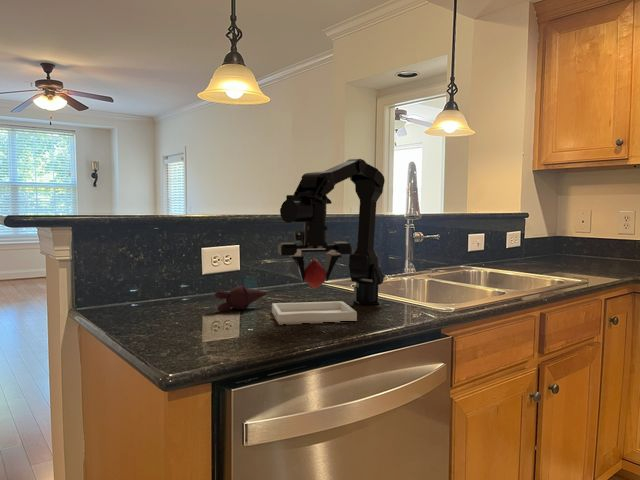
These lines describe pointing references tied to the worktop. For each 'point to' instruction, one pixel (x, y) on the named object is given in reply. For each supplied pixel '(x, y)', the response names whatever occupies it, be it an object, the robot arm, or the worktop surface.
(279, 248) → the robot arm
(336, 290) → the worktop surface
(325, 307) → the tray
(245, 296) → the dark red toy figure
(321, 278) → the onion
